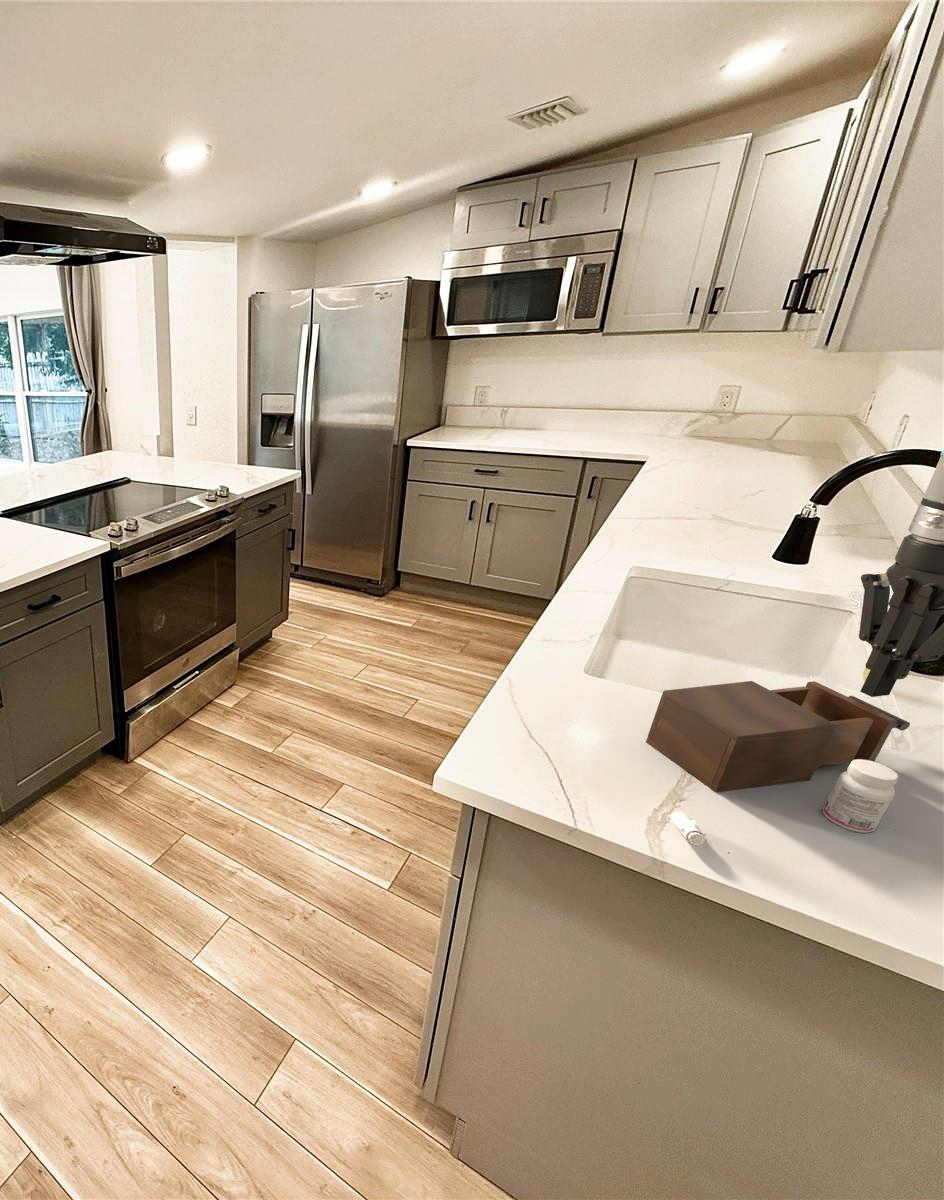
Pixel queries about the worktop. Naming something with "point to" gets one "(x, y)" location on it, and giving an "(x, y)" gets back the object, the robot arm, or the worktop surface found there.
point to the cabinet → (739, 735)
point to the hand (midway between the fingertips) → (874, 693)
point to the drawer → (846, 722)
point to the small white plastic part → (688, 828)
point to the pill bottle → (861, 796)
